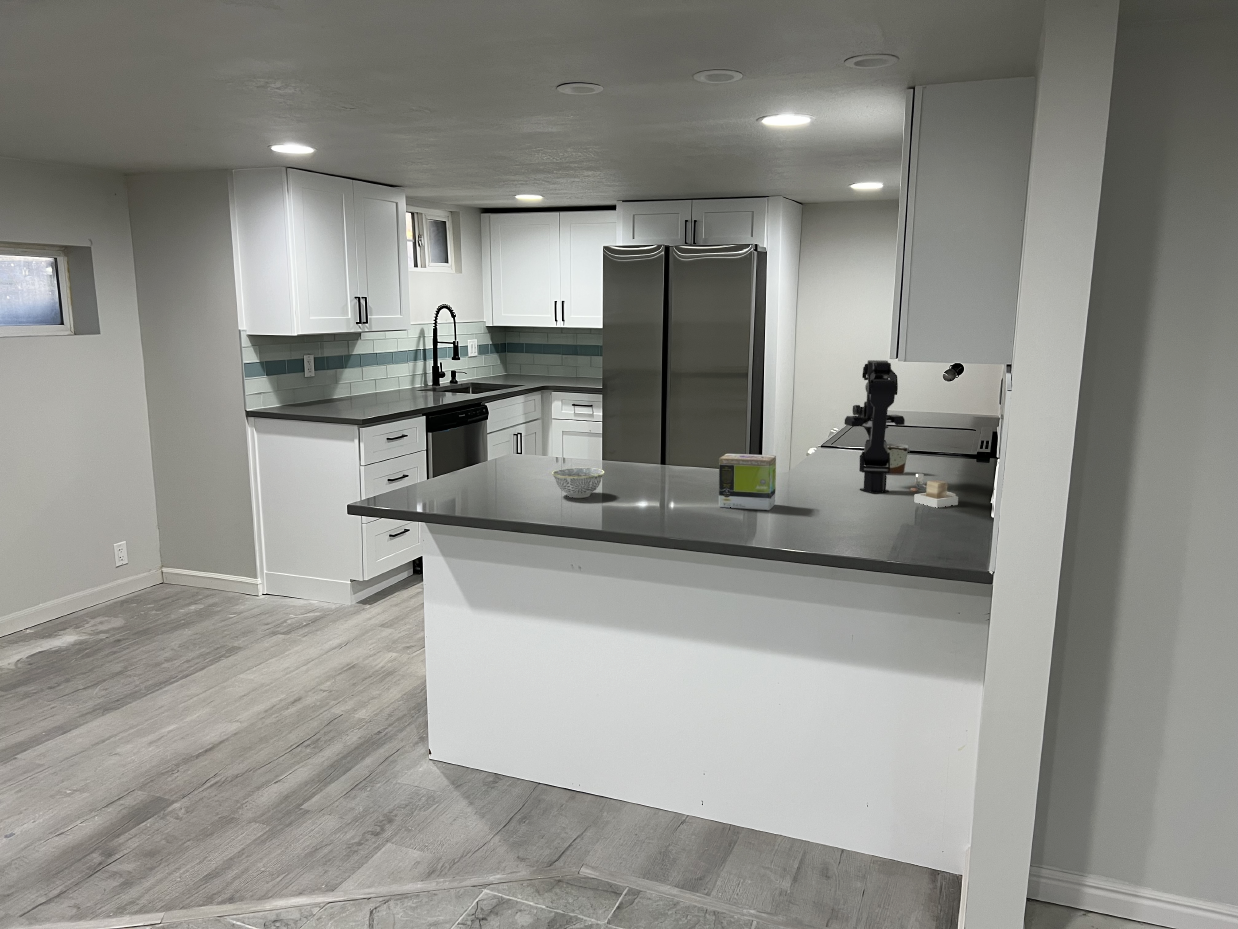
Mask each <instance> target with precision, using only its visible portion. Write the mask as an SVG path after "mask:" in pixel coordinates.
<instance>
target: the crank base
mask: <svg viewBox="0 0 1238 929" xmlns="http://www.w3.org/2000/svg"><path fill="white" fill-rule="evenodd" d="M918 490H919V488H917V487H916V488H914V487H911V488H910V491H914V492H918ZM947 494H948V495H952V496H957V494H956V493H954V492H949V491H947Z"/></svg>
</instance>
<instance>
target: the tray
mask: <svg viewBox="0 0 1238 929" xmlns="http://www.w3.org/2000/svg"><path fill="white" fill-rule="evenodd" d="M913 497H914V500H913V503H915V504H919V503H920V505H923V504H924V505H925V506H927V505H928V506H929V507H932V508H935V507H936V509H938V507H939V508H946V507H951V505H953V506H958V504H959V496H957V495H955V496H952V495H948V494H947V497H946V498H941V499H935V498H931V497H927V496H926V492H922V493H915V494H914V495H913ZM945 506H946V507H945Z"/></svg>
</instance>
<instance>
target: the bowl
mask: <svg viewBox="0 0 1238 929" xmlns="http://www.w3.org/2000/svg"><path fill="white" fill-rule="evenodd" d="M551 473H552V476H553V477H554V480H555V482H556V485H557V487H558V488H559V490H561V491H562V492H563V493H565V494H566V495H567V497H568V496H569V497H568V498H572V497H573V498H574V499H582V498H589V497H590V496H591V493H594V492H595V491H596V490H597V489H598V487H599V486H600V484H601V481H602V478H603V476H604V474H605V471H604V470H603V469H600V468H595V467H567V468H566V467H565V468H561V469H555V470H553V471H552V472H551Z"/></svg>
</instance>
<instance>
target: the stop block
mask: <svg viewBox="0 0 1238 929" xmlns="http://www.w3.org/2000/svg"><path fill="white" fill-rule="evenodd" d="M926 486H927V490H925V491H926V492H925V493H926V496H927V497H931V498H935V499H941V498H946V497H947V492H948V482H946V481H941V480H939V479H937V480H936V479H935V480H934V479H933V480H928V481H926Z"/></svg>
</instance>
